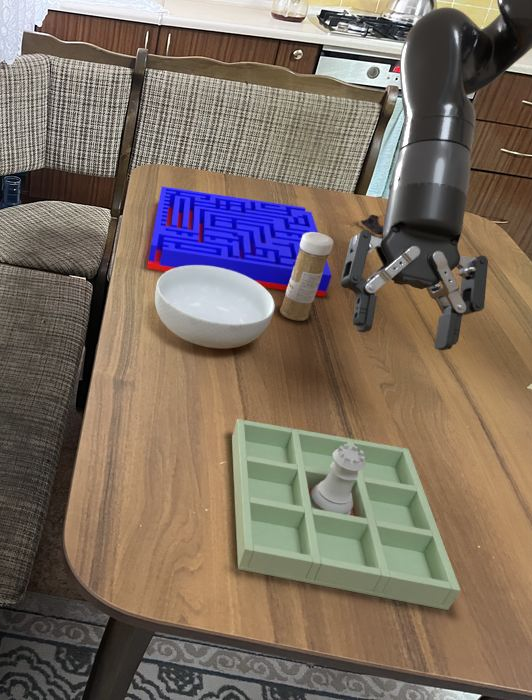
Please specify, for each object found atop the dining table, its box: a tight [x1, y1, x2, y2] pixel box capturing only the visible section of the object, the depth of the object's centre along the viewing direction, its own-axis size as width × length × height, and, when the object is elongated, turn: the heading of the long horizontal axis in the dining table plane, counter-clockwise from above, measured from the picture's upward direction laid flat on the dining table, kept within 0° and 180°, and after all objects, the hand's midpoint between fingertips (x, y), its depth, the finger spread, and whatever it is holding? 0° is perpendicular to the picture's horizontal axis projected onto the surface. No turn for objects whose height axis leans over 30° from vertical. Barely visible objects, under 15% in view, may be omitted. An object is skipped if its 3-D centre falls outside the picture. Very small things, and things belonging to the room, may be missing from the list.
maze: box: [146, 186, 333, 298], centre depth 127 cm, size 30×30×4 cm
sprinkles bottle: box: [279, 232, 335, 322], centre depth 105 cm, size 5×5×14 cm
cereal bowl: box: [154, 265, 276, 349], centre depth 100 cm, size 17×17×7 cm
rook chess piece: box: [309, 444, 366, 515], centre depth 71 cm, size 4×4×8 cm
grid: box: [231, 418, 461, 611], centre depth 72 cm, size 20×20×3 cm
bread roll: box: [358, 213, 386, 238], centre depth 141 cm, size 11×8×4 cm
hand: (403, 340), depth 71 cm, fingers open, 8 cm apart
